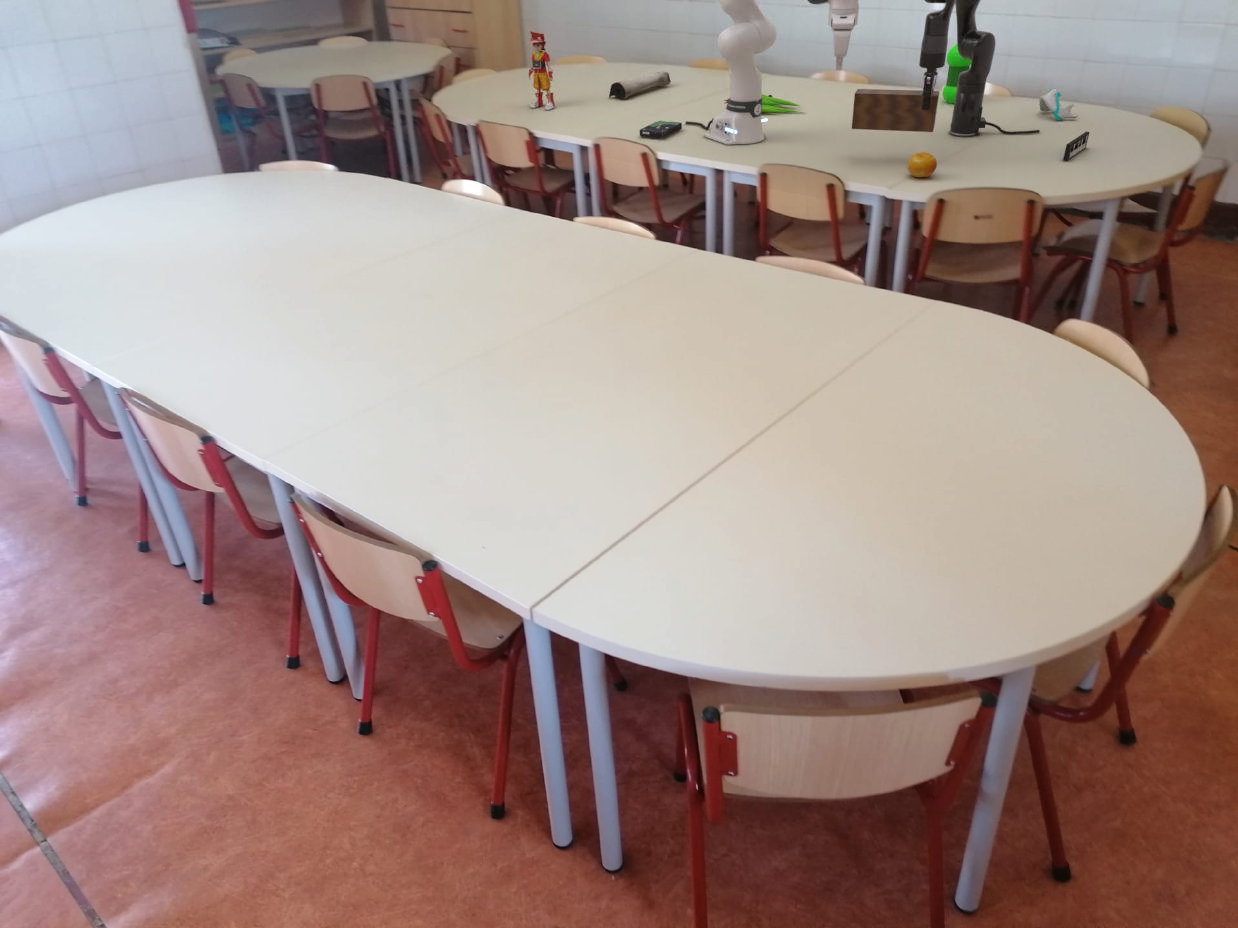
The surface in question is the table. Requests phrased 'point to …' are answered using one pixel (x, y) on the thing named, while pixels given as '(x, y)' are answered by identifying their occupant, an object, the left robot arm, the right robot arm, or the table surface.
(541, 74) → the toy
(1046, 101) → the white and teal piece
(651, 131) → the disk drive
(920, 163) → the fruit
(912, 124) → the box
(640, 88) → the rolled mat
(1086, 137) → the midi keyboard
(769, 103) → the toy
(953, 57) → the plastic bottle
